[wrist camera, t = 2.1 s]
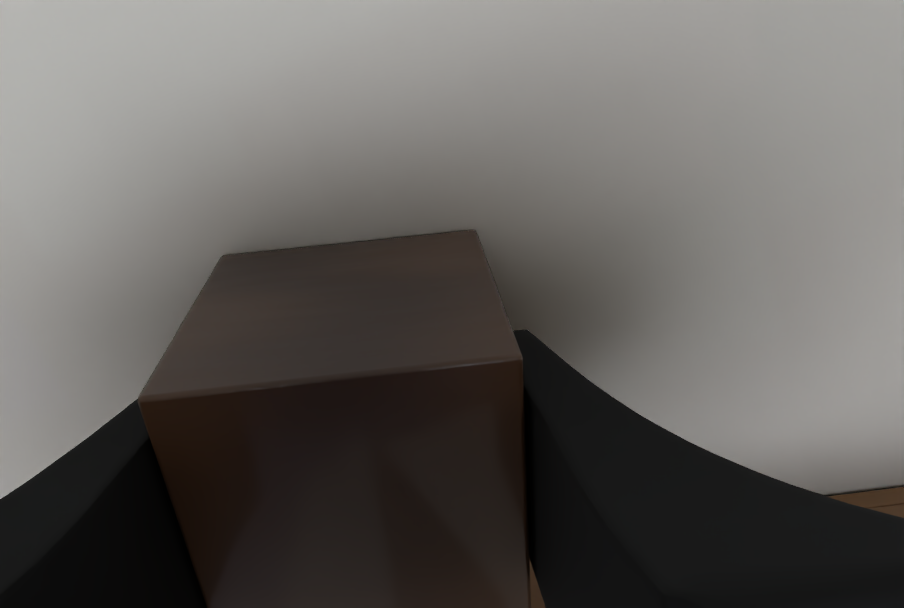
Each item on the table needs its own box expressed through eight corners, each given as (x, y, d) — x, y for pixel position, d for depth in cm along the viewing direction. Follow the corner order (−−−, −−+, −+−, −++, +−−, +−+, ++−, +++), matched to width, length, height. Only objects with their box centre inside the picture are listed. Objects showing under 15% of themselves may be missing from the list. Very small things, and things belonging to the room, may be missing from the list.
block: (270, 459, 13) (222, 660, 9) (220, 254, 11) (133, 399, 7) (489, 433, 14) (532, 619, 10) (476, 228, 12) (523, 355, 8)
